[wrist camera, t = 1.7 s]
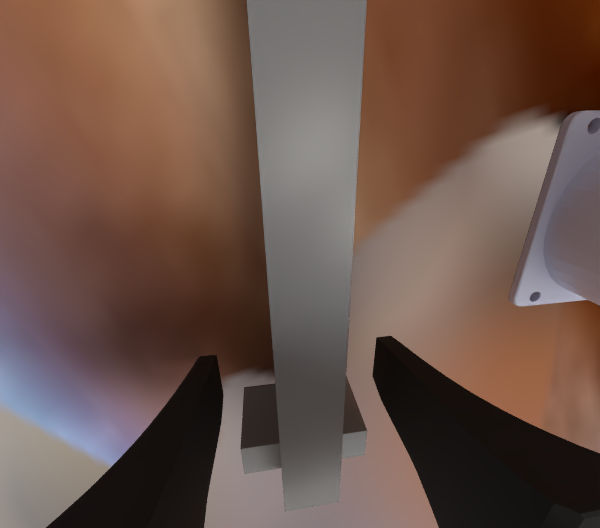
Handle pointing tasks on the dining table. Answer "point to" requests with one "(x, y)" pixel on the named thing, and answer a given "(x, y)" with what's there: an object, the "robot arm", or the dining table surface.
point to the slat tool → (306, 240)
